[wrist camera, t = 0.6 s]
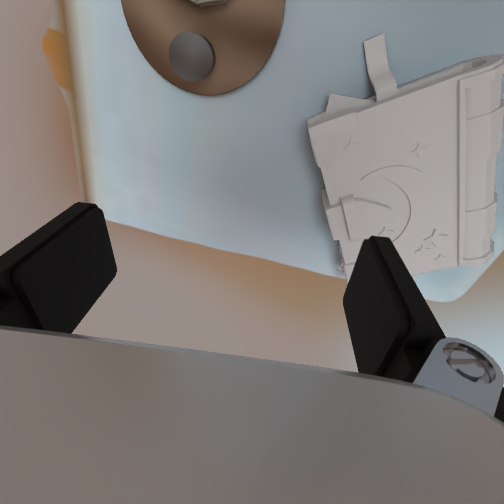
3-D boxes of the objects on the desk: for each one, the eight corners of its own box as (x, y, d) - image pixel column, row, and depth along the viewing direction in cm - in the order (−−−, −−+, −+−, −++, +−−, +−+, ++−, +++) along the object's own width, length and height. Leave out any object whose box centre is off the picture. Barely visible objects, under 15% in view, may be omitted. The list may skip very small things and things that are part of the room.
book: (486, -12, 26) (547, -33, 20) (476, 236, 40) (510, 270, 34) (285, 75, 32) (283, 80, 26) (337, 267, 46) (344, 300, 40)
